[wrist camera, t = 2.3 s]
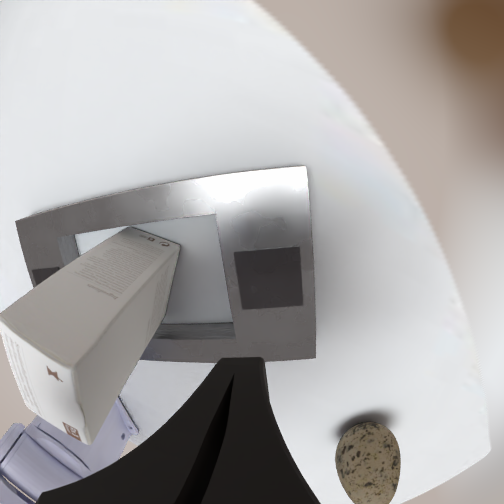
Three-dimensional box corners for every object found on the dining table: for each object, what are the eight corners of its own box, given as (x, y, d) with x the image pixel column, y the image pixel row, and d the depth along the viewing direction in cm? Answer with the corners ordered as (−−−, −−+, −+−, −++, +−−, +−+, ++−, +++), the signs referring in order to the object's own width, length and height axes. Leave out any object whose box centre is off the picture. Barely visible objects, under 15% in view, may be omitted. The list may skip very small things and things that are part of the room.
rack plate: (313, 340, 19) (315, 359, 17) (70, 338, 22) (58, 349, 20) (302, 165, 16) (306, 166, 14) (30, 215, 19) (14, 221, 17)
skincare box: (127, 224, 18) (-14, 305, 7) (186, 244, 18) (71, 366, 7) (117, 299, 20) (18, 404, 9) (169, 320, 20) (91, 451, 9)
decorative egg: (326, 444, 24) (332, 525, 14) (339, 411, 22) (353, 505, 12) (378, 439, 23) (395, 514, 14) (397, 405, 21) (424, 490, 12)
